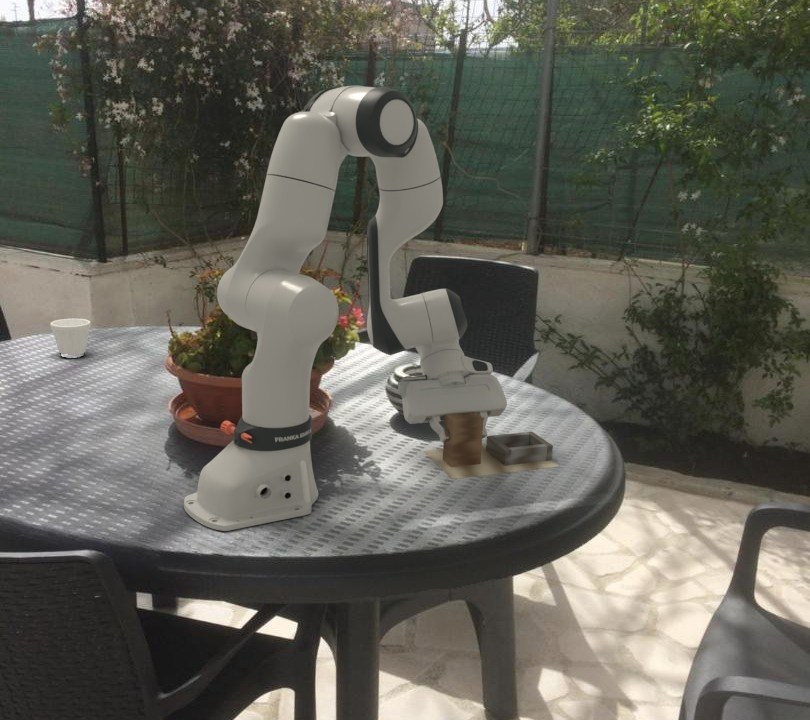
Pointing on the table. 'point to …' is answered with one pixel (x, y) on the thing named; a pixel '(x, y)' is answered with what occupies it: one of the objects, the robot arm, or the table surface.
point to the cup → (71, 335)
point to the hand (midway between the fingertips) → (464, 438)
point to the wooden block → (463, 439)
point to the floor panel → (503, 456)
